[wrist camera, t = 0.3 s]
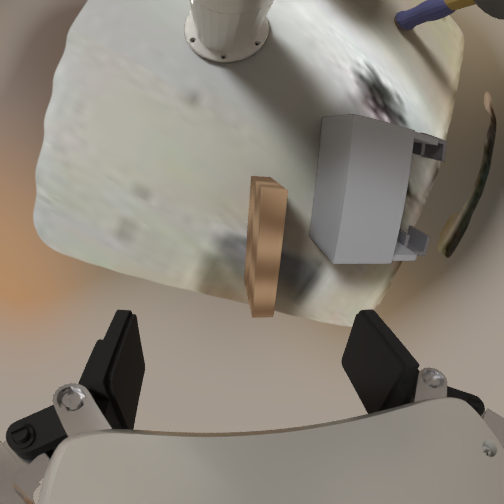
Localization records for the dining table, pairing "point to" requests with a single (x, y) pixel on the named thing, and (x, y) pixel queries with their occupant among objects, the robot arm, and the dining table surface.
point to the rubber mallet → (444, 11)
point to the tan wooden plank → (264, 244)
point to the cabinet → (367, 190)
